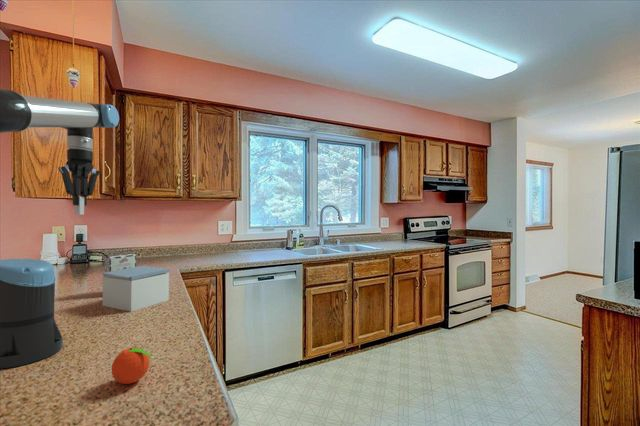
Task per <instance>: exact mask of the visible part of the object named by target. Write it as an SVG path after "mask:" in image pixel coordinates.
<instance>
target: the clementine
mask: <svg viewBox="0 0 640 426" xmlns="http://www.w3.org/2000/svg"><path fill="white" fill-rule="evenodd" d="M150 361H151V362H153V359H152V356H151V355H150V353H148V352H147V351H146V350H144V349H142V348H139V347H129V348H126V349H124V350H123V351H121V352H120V353H119V354H117V356H116V357H115V359H114V360H113V362H112V364H111V373H112V377H113V378H114V380H115V381H116V382H118V383H120V384H123V385H130V384H134V383H137V382H138V381H139V380H140V379H142V378H143V377H144V376H145V375H146V373H147V372H148V370H149V366H150Z"/></svg>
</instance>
